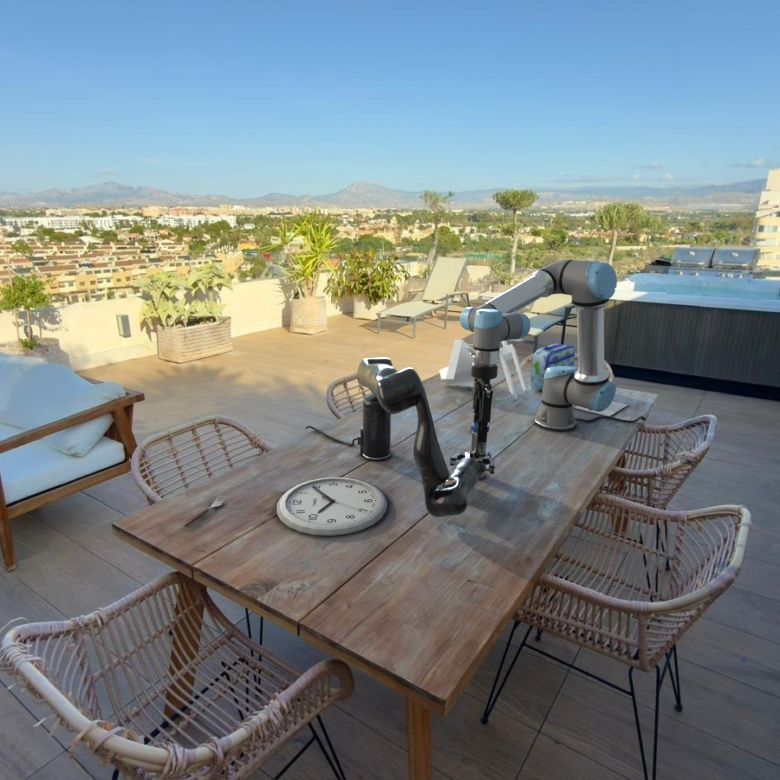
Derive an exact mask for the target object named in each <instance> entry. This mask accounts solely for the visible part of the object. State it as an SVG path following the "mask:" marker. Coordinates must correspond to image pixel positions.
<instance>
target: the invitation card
mask: <svg viewBox="0 0 780 780" xmlns="http://www.w3.org/2000/svg"><path fill="white" fill-rule="evenodd" d="M628 406H629V404H627V403H623V402H618V401H614V400H613V401H612V402H611V404H610V405H609V407H608V408H607V409H605V410H604V411H601V412H597V411H593V410H589V409H587V408H583V407H580V406H577V405H575V406H574V407H573V409H575V410H581V411H584V412H587V413H593V414H596V415H600V416H609V417H612V416H613V415H614V414H616V413H617V412H619V411H621V410H623V409H624V408H626V407H628Z"/></svg>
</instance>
